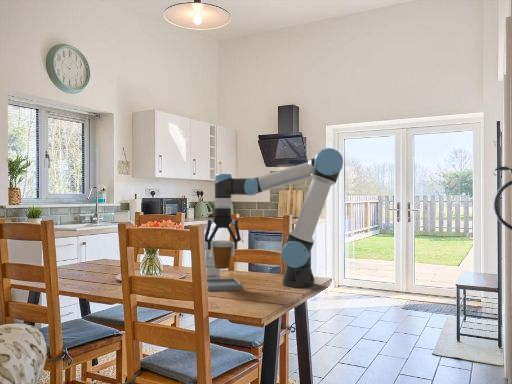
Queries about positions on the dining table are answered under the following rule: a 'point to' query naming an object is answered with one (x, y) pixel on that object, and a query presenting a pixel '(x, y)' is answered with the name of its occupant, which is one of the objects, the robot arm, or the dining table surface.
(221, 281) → the grey square tray
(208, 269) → the grater
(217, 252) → the disposable coffee cup
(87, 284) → the dining table surface
